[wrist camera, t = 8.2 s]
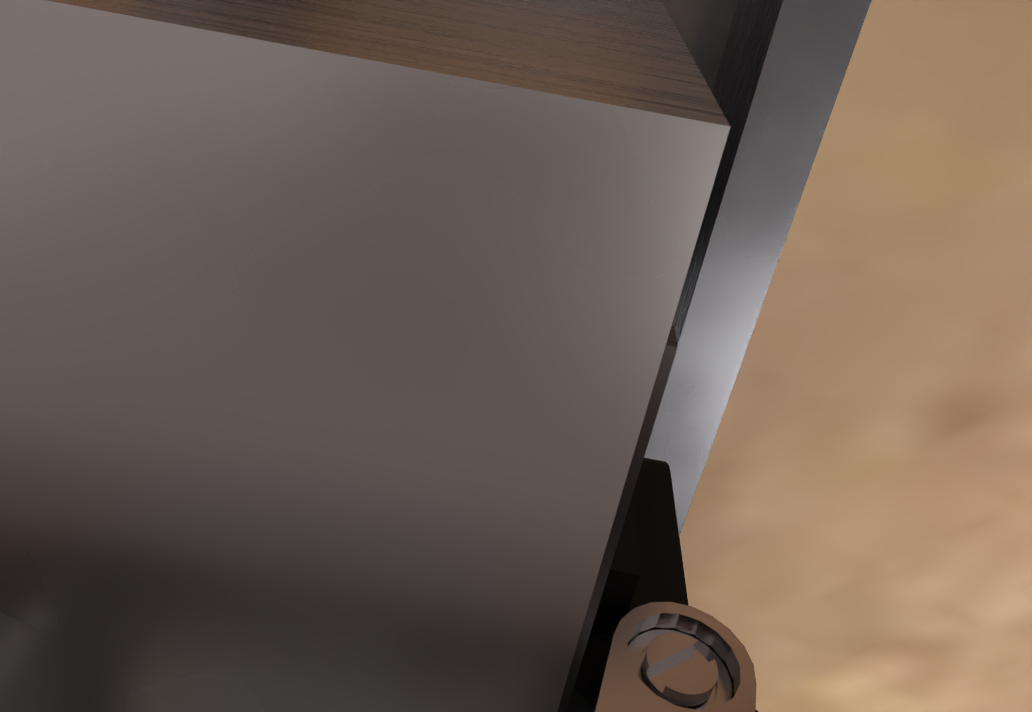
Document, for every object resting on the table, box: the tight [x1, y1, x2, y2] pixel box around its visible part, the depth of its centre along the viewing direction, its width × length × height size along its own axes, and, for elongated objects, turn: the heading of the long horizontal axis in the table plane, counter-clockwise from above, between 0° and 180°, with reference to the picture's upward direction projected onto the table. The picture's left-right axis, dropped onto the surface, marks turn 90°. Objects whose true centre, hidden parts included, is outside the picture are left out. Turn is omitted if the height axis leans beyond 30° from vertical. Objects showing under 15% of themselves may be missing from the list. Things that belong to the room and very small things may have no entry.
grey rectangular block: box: [0, 0, 730, 712], centre depth 9 cm, size 4×12×7 cm, turn 171°
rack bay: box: [644, 0, 871, 535], centre depth 14 cm, size 9×18×4 cm, turn 171°
